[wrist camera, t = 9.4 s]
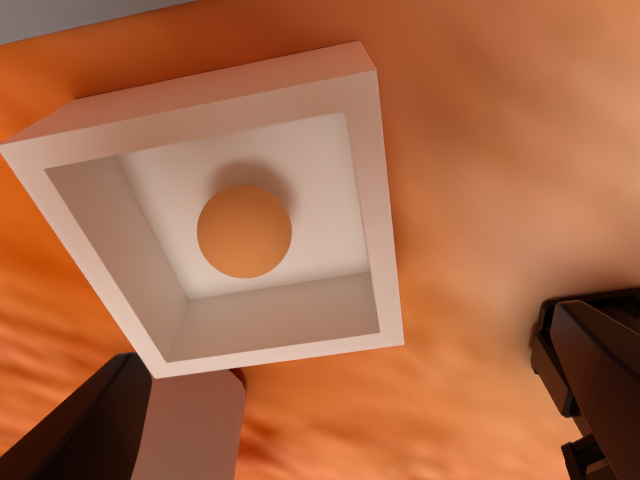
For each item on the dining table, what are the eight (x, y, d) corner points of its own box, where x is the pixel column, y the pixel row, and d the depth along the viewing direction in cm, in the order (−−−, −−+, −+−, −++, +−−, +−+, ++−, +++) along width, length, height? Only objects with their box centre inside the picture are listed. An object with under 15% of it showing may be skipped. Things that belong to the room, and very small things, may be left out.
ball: (282, 161, 18) (275, 207, 14) (301, 235, 20) (299, 290, 17) (195, 177, 18) (169, 226, 15) (223, 248, 20) (206, 304, 17)
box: (359, 40, 16) (376, 69, 12) (387, 274, 22) (404, 344, 18) (72, 99, 17) (-5, 145, 13) (182, 305, 24) (154, 378, 19)
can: (113, 360, 26) (-5, 601, 16) (218, 334, 25) (158, 578, 15) (172, 421, 30) (105, 643, 21) (264, 401, 29) (241, 627, 19)
